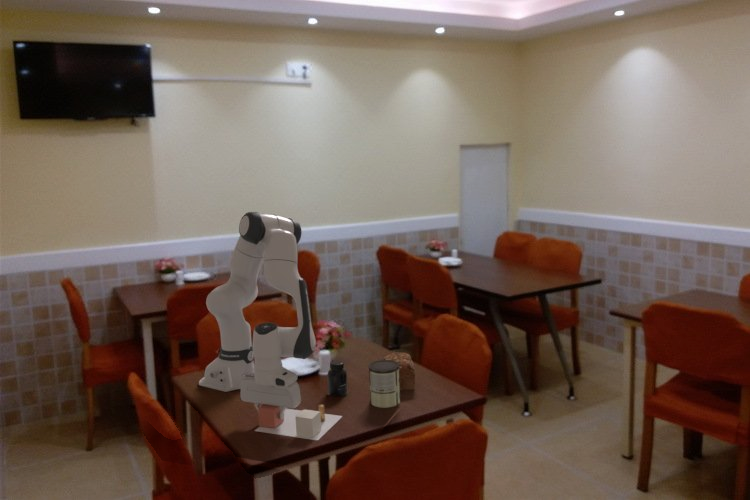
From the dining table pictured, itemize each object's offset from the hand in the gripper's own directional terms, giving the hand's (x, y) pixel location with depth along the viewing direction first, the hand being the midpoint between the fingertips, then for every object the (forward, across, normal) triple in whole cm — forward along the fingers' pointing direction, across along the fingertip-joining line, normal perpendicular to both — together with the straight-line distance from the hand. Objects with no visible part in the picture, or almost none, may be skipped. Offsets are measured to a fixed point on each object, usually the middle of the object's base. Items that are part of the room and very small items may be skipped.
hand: (271, 416), depth 207 cm
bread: (+4, +26, +48) cm, 54 cm away
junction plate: (+3, +8, +3) cm, 9 cm away
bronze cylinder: (+2, +14, +7) cm, 16 cm away
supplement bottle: (+4, +9, +30) cm, 32 cm away
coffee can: (+4, +28, +27) cm, 39 cm away
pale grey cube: (+2, +14, -2) cm, 15 cm away
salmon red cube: (+2, 0, 0) cm, 2 cm away
